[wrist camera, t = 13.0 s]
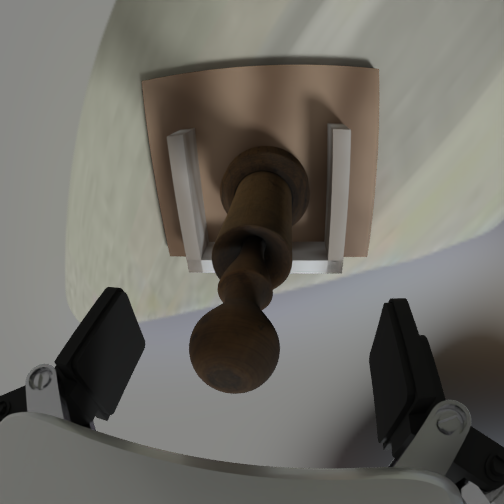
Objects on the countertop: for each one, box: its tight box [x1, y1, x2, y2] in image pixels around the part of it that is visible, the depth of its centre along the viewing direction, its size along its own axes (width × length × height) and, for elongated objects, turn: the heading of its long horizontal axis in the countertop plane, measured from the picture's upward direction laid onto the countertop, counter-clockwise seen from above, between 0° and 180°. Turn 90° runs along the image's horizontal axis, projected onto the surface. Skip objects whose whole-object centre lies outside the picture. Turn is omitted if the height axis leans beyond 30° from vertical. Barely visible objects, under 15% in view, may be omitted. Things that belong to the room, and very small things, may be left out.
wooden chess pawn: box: [189, 146, 310, 394], centre depth 17 cm, size 7×6×18 cm
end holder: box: [142, 65, 379, 273], centre depth 23 cm, size 18×16×4 cm
